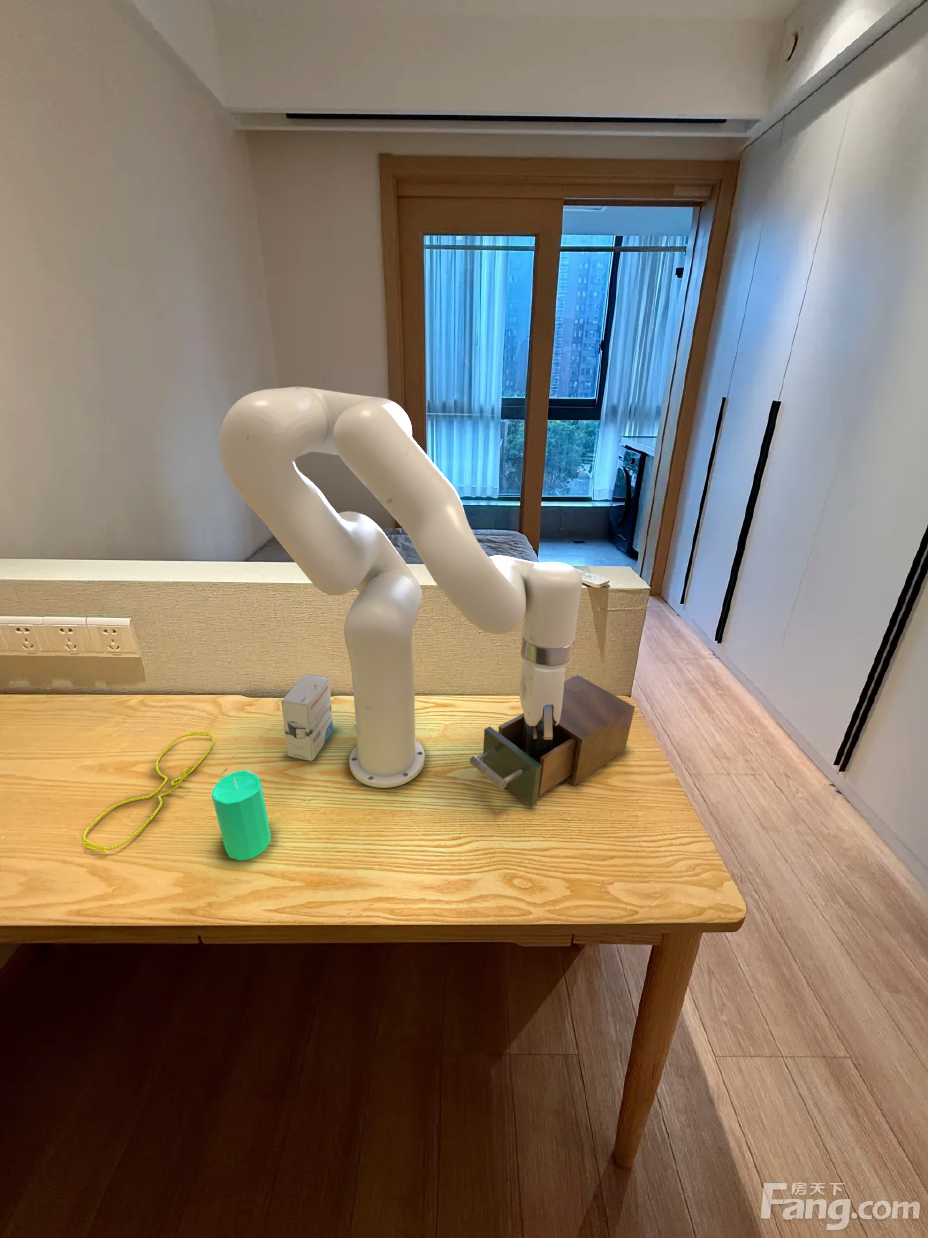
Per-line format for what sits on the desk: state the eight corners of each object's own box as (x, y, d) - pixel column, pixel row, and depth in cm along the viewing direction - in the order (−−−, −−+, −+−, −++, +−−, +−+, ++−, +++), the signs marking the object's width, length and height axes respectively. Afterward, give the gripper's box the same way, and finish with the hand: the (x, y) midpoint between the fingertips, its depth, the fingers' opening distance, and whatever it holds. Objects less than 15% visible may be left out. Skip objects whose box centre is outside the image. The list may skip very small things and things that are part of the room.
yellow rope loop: (183, 734, 92) (177, 712, 90) (235, 740, 91) (230, 719, 89) (69, 852, 70) (57, 827, 68) (135, 862, 69) (126, 837, 67)
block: (525, 754, 81) (527, 734, 80) (522, 737, 85) (524, 718, 83) (550, 754, 82) (553, 734, 80) (546, 737, 85) (548, 718, 83)
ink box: (310, 726, 95) (303, 672, 90) (336, 730, 94) (330, 676, 89) (287, 757, 88) (278, 700, 82) (314, 762, 87) (307, 705, 82)
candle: (244, 868, 69) (228, 802, 63) (216, 847, 71) (198, 782, 66) (280, 837, 73) (268, 773, 68) (252, 818, 76) (239, 755, 70)
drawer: (508, 823, 75) (512, 784, 72) (459, 779, 83) (460, 741, 80) (585, 770, 86) (592, 733, 82) (535, 735, 94) (539, 700, 90)
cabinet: (574, 786, 84) (582, 739, 79) (519, 745, 92) (524, 701, 88) (625, 750, 92) (635, 706, 88) (570, 715, 100) (577, 674, 96)
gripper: (513, 621, 82) (506, 713, 91) (530, 679, 67) (520, 783, 76) (560, 621, 83) (548, 713, 91) (587, 678, 68) (570, 783, 76)
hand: (535, 744), depth 83 cm, fingers closed on block, 4 cm apart
